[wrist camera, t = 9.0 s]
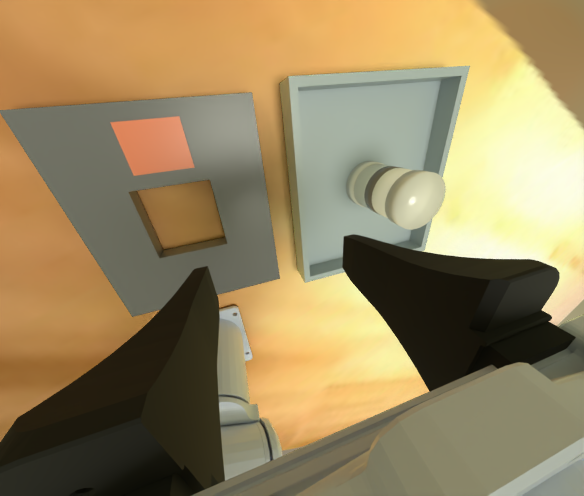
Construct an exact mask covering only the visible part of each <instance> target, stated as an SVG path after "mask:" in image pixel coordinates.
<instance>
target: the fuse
mask: <svg viewBox="0 0 584 496" xmlns="http://www.w3.org/2000/svg"><path fill="white" fill-rule="evenodd" d="M346 191H347V195H348V197H349V199H350V200H351V201H352V202H354V203H356V204H358V205H360V206H362V207H366V208H368V209H370V210H371V211H373V212H375V213H377V214H379V215H382V216H384V217H386V218H388V219H389V220H390V221H391V222H393V223H395V224H397V225H399V226H401V227H403V228H405V229H409V230H413V229H417V228H420V227H422V226H424V225H425V224H427V223H428V222H429V221H430V220H431V219H432V218H433V217H434V216H435V215H436V214H437V212H438V211H439V209H440V207H441V205H442V203H443V200H444V197H445V183H444V180H443V178H442V177H441V176H440V175H439V174H437V173H434V172H428V171H423V170H410V169H405V168H401V167H396V166H389V165H385V164H383V163H379V162H374V161H365V162H362V163H360V164H359V165H357V166H356V167H355V168H354V169H353V170H352V172H351V173H350V175H349V177H348V180H347V184H346Z"/></svg>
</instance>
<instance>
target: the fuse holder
mask: <svg viewBox="0 0 584 496" xmlns="http://www.w3.org/2000/svg"><path fill="white" fill-rule="evenodd" d="M0 113H1V115H2V116H3V118H4V120H5V121H6V123H7V124H8V126H9V127H10V129H11V130H12V132H13V133H14V135H15V137H16V138H17V140H18V141H19V143H20V144H21V146H22V147H23V149H24V150H25V152H26V153H27V155H28V157H29V158H30V160H31V161H32V163H33V164H34V166H35V167H36V169H37V170H38V172H39V174H40V175H41V177H42V178H43V180H44V181H45V183H46V184H47V186H48V187H49V189H50V191H51V192H52V194H53V195H54V197H55V198H56V200H57V201H58V203H59V204H60V206H61V207H62V209H63V211H64V212H65V214H66V215H67V217H68V218H69V220H70V221H71V223H72V224H73V226H74V228H75V229H76V231H77V232H78V234H79V235H80V237H81V238H82V240H83V241H84V243H85V245H86V246H87V248H88V249H89V251H90V252H91V254H92V255H93V257H94V258H95V260H96V261H97V263H98V265H99V266H100V268H101V269H102V271H103V272H104V274H105V275H106V277H107V278H108V280H109V282H110V283H111V285H112V286H113V288H114V289H115V291H116V292H117V294H118V295H119V297H120V299H121V300H122V302H123V303H124V305H125V306H126V308H127V309H128V311H129V312H130V314H131V315H132V317H134V316H138V315H141V314H145V313H149V312H153V311H157V310H161V309H162V308H163V307H164V306H165V304H166V303H167V302H168V301H169V300H170V299H171V298H172V297H173V295H174V294H175V293H176V292H177V290H178V289H179V288H180V287H181V285H182V284H183V283H184V282H185V280H186V279H187V278H188V276H189V275H190V274H191V272H192V271H193V270H194V269H196V268H200V267H205V266H208V268H209V272H210V275H211V278H212V281H213V284H214V287H215V290H216V293H217V295H218V294H222V293H226V292H230V291H234V290H238V289H241V288H245V287H249V286H253V285H257V284H261V283H264V282H268V281H272V280H276V279H280V275H279V269H278V262H277V255H276V249H275V242H274V236H273V229H272V222H271V216H270V209H269V203H268V196H267V189H266V183H265V176H264V169H263V163H262V156H261V150H260V143H259V136H258V130H257V123H256V117H255V110H254V103H253V97H252V92H251V93H237V94H223V95H209V96H195V97H181V98H167V99H153V100H139V101H125V102H111V103H97V104H82V105H68V106H54V107H40V108H26V109H12V110H0ZM204 180H210V182H211V186H212V189H213V193H214V197H215V200H216V204H217V208H218V211H219V215H220V218H221V222H222V226H223V229H224V233H225V237H224V238H220V239H215V240H210V241H205V242H200V243H196V244H191V245H186V246H181V247H176V248H171V249H167V250H163V248H162V246H161V244H160V242H159V239H158V237H157V235H156V233H155V231H154V228H153V226H152V224H151V222H150V219H149V217H148V215H147V213H146V211H145V208H144V206H143V204H142V202H141V199H140V197H139V195H138V193H137V190H144V189H151V188H157V187H164V186H171V185H177V184H184V183H191V182H197V181H204Z"/></svg>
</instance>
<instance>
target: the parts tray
mask: <svg viewBox="0 0 584 496" xmlns="http://www.w3.org/2000/svg"><path fill="white" fill-rule="evenodd" d="M469 67H470V66H458V67H441V68H424V69H406V70H389V71H371V72H354V73H336V74H319V75H302V76H288V77H287V78H286V79H285V80H283V81H282V82H281V83H280V84H279V85H280V95H281V105H282V116H283V126H284V136H285V146H286V156H287V167H288V177H289V187H290V197H291V207H292V218H293V228H294V238H295V248H296V258H297V269H298V271H299V273H300V275H301V277H302V278H303V280H304V282H305V283H306V282H309V281H313V280H317V279H321V278H324V277H328V276H332V275H335V274H339V273H343V272H345V271H344V269H343V268H342V263H343V240H344V236H348V235H352V234H356V235H361V236H365V237H368V238H372V239H375V240H379V241H382V242H386V243H389V244H393V245H396V246H400V247H404V248H408V249H412V250H417V251H424V250H425V246H426V242H427V238H428V234H429V230H430V226H431V222H432V219H431V220H430V221H429V222H428V223H427V224H425V225H424V226H422V227H420V228H417V229H413V230H409V229H405V228H403V227H401V226H399V225H397V224H395V223H393V222H391V221H390V220H389V219H388V218H386V217H384V216H382V215H379V214H377V213H375V212H373V211H371V210H370V209H368V208H366V207H362V206H360V205H358V204H356V203H354V202H352V201H351V200H350V199H349V197H348V195H347V191H346V184H347V180H348V177H349V175H350V173H351V172H352V170H353V169H354V168H355V167H356V166H357V165H359V164H360V163H362V162H365V161H374V162H379V163H383V164H385V165H389V166H396V167H401V168H405V169H410V170H423V171H428V172H434V173H437V174H439V175H440V176H441V177H443V173H444V169H445V165H446V161H447V157H448V153H449V149H450V145H451V141H452V136H453V132H454V128H455V124H456V120H457V116H458V112H459V108H460V104H461V100H462V96H463V92H464V88H465V83H466V79H467V75H468V71H469Z"/></svg>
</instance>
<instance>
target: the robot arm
mask: <svg viewBox="0 0 584 496" xmlns="http://www.w3.org/2000/svg"><path fill="white" fill-rule="evenodd" d="M342 268H343V269H344V271H345V272H346V274H347V276H348V277H349V279H350V280H351V281H352V283H353V284H354V285H355V286H356V287H357V288H358V290H359V291H360V292H361V293H362V294H363V295H364V296H365V297H366V299H367V300H368V301H369V302H370V303H371V304H372V305H373V306H374V307H375V309H376V310H377V311H378V312H379V313H380V315H381V316H382V317H383V319H384V320H385V321H386V323H387V324H388V326H389V327H390V328H391V330H392V331H393V333H394V334H395V336H396V337H397V339H398V340H399V342H400V343H401V345H402V346H403V348H404V349H405V351H406V352H407V354H408V356H409V357H410V359H411V360H412V362H413V364H414V365H415V367H416V368H417V370H418V372H419V374H420V375H421V377H422V379H423V381H424V382H425V384H426V386H427V388H428V389H429V391H430V392H428V393H425V394H423V395H421V396H419V397H416V398H414V399H412V400H409V401H407V402H405V403H403V404H400V405H398V406H396V407H393V408H391V409H389V410H386V411H384V412H382V413H380V414H377V415H375V416H373V417H370V418H368V419H366V420H364V421H361V422H359V423H357V424H354V425H352V426H350V427H347V428H345V429H343V430H341V431H338V432H336V433H334V434H331V435H329V436H327V437H324V438H322V439H320V440H318V441H315V442H313V443H311V444H308V445H306V446H304V447H302V448H299V449H297V450H295V451H292V452H290V453H288V454H286V455H283V454H282V449H281V444H280V441H279V438H278V435H277V433H276V431H275V429H274V428H273V426H272V424H271V423H270V421H269V420H268V419H266V418H263V417H262V418H259V411H258V405H257V404H250V397H249V388H248V380H247V372H246V363H245V361H248V360H251V359H252V357H253V356H252V352H251V349H250V345H249V342H248V339H247V335H246V332H245V328H244V325H243V322H242V318H241V315H240V312H239V308H238V307H237V306H230V307H227V308H223V309H220V310H219V302H218V296H217V293H216V290H215V287H214V284H213V281H212V278H211V275H210V272H209V268H208V266H205V267H200V268H196V269H194V270H193V271H192V272H191V274H190V275H189V276H188V278H187V279H186V280H185V282H184V283H183V284H182V285H181V287H180V288H179V289H178V290H177V292H176V293H175V294H174V295H173V297H172V298H171V299H170V300H169V301H168V302H167V303H166V304H165V306H164V307H163V308H162V309H161V310H160V311H159V312H158V313H157V314H156V315H155V316H154V317H153V318H152V319H151V320H150V321H149V322H148V323H147V324H146V325H145V326H144V327H143V328H142V329H141V330H140V331H139V332H138V333H136V334H135V335H134V336H133V337H132V338H130V339H129V340H128V341H127V342H126V343H124V344H123V345H122V346H121V347H120V348H118V349H117V350H116V351H115V352H114V353H112V354H111V355H110V356H108V357H107V358H106V359H104V360H103V361H102V362H100V363H99V364H98V365H96V366H95V367H94V368H92V369H91V370H89V371H88V372H87V373H85V374H84V375H82V376H81V377H80V378H78V379H77V380H75V381H74V382H72V383H71V384H70V385H68V386H67V387H65V388H63V389H62V390H60V391H59V392H57V393H56V394H54V395H53V396H51V397H50V398H48V399H47V400H45V401H43V402H42V403H40V404H39V405H37V406H36V407H34V408H33V409H31V410H30V411H28V412H26V413H25V414H23V415H22V416H20V417H18V418H17V419H16V421H15V422H14V424H13V425H12V427H11V428H10V429H9V431H8V432H7V434H6V435H5V436H4V438H3V439H2V441H1V442H0V496H584V462H583V461H584V314H583V315H580V316H578V317H575V318H573V319H571V320H568V321H566V322H564V323H563V324H561V325H560V326H559V327H557V326H556V325H554V324H552V323H550V322H548V321H550V320H551V319H552V317H551V315H549V314H547V313H546V312H544V311H542V310H541V309H542V308H543V306H544V305H545V303H546V302H547V300H548V299H549V297H550V296H551V294H552V293H553V291H554V289H555V288H556V286H557V284H558V281H559V272H558V270H557V269H556V268H554V267H552V266H549V265H547V264H544V263H542V262H539V261H535V260H530V259H480V258H466V257H456V256H447V255H440V254H433V253H428V252H422V251H417V250H412V249H408V248H404V247H400V246H396V245H393V244H389V243H386V242H382V241H379V240H375V239H372V238H368V237H365V236H361V235H356V234H352V235H348V236H344V240H343V263H342ZM233 313H236V314H233Z"/></svg>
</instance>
